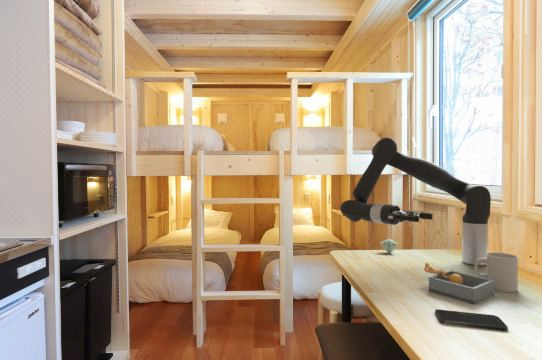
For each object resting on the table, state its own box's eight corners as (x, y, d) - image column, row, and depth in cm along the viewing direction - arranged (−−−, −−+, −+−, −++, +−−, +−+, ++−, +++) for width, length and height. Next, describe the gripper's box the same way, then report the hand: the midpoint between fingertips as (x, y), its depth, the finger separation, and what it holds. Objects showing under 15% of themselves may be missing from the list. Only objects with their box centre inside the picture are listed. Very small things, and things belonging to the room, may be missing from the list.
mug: (514, 286, 111) (514, 253, 111) (520, 294, 104) (521, 259, 104) (473, 281, 117) (473, 250, 116) (476, 288, 109) (476, 255, 109)
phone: (509, 328, 79) (440, 320, 83) (509, 333, 79) (440, 325, 83) (497, 315, 86) (434, 308, 91) (497, 319, 86) (434, 312, 91)
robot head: (380, 253, 159) (380, 239, 159) (381, 251, 163) (381, 237, 162) (397, 254, 156) (398, 240, 155) (398, 252, 159) (398, 238, 159)
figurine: (463, 281, 102) (428, 255, 109) (450, 295, 103) (417, 269, 111) (468, 278, 108) (435, 254, 115) (456, 292, 110) (425, 267, 117)
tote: (449, 283, 114) (449, 270, 114) (494, 294, 103) (494, 280, 103) (428, 291, 107) (428, 277, 107) (474, 304, 96) (474, 288, 95)
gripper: (373, 205, 123) (413, 208, 110) (396, 203, 132) (436, 205, 119) (373, 225, 124) (414, 230, 110) (396, 221, 132) (436, 226, 119)
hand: (425, 217), depth 114 cm, fingers open, 8 cm apart
